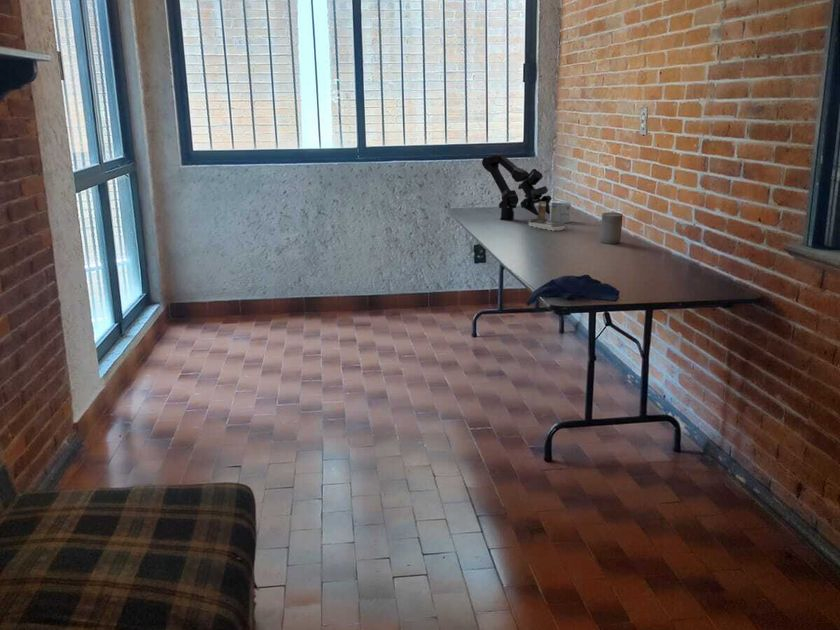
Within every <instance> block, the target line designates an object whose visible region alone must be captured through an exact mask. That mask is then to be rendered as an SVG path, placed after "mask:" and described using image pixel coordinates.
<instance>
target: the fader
mask: <svg viewBox="0 0 840 630" xmlns="http://www.w3.org/2000/svg"><path fill="white" fill-rule="evenodd" d="M537 210H538V211H537V212H538V216H537V218H538V219H536V220H535V222H538V223H543V222H548V219H547V218H546V202H544V201H541V202H539V203H538V209H537Z"/></svg>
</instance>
